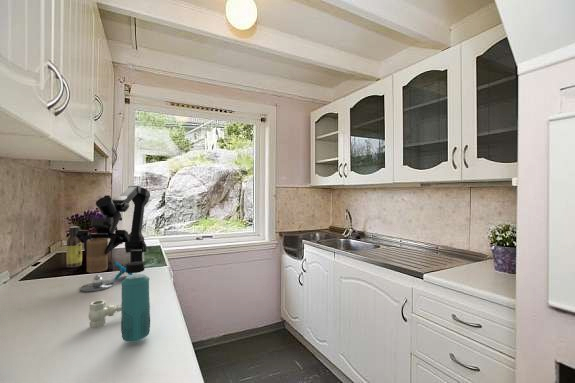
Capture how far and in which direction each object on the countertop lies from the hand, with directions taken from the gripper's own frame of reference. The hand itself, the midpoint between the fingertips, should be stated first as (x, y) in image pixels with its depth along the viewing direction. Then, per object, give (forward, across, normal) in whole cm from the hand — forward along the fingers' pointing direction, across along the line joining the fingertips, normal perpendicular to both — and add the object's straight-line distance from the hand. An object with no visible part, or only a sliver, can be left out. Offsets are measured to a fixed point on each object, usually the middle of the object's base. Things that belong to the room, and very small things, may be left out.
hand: (95, 254), depth 109 cm
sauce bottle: (-14, -28, +34) cm, 47 cm away
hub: (+8, 0, +10) cm, 13 cm away
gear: (+1, +5, +18) cm, 19 cm away
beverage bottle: (+39, +32, -20) cm, 54 cm away
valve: (+30, +21, -11) cm, 38 cm away
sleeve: (+4, 0, +6) cm, 7 cm away
